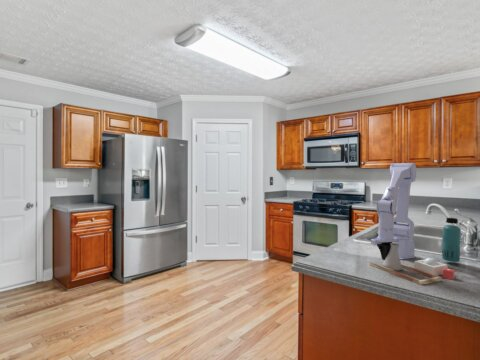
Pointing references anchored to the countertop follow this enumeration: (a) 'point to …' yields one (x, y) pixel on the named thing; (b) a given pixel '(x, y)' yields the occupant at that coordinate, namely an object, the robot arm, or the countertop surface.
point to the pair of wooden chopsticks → (432, 277)
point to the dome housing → (430, 267)
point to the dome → (430, 262)
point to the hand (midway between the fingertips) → (385, 259)
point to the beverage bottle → (451, 241)
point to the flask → (393, 258)
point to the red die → (448, 273)
